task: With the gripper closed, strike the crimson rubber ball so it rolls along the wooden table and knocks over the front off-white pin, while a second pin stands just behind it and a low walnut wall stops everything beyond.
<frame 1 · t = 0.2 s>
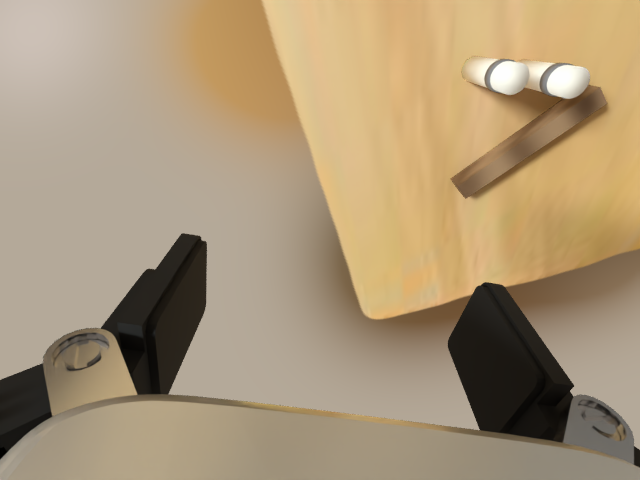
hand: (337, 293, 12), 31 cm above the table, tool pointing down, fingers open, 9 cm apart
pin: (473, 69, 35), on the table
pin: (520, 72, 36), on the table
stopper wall: (516, 141, 39), on the table
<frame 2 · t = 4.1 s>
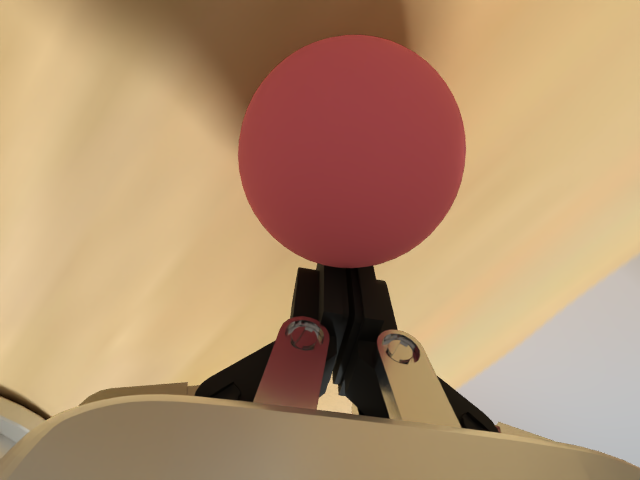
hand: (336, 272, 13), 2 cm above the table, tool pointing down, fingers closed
ball: (348, 160, 10), on the table
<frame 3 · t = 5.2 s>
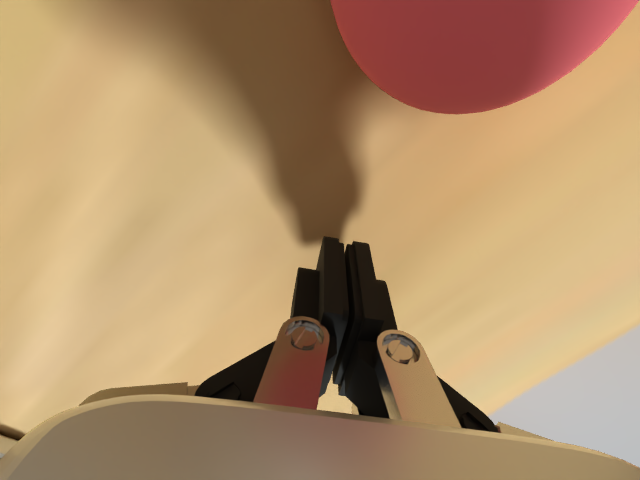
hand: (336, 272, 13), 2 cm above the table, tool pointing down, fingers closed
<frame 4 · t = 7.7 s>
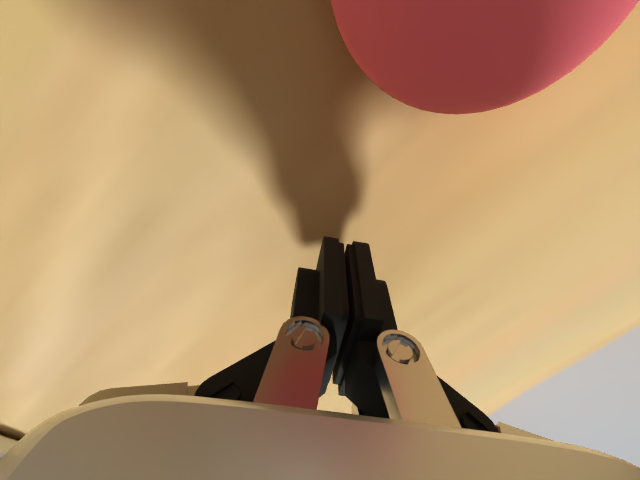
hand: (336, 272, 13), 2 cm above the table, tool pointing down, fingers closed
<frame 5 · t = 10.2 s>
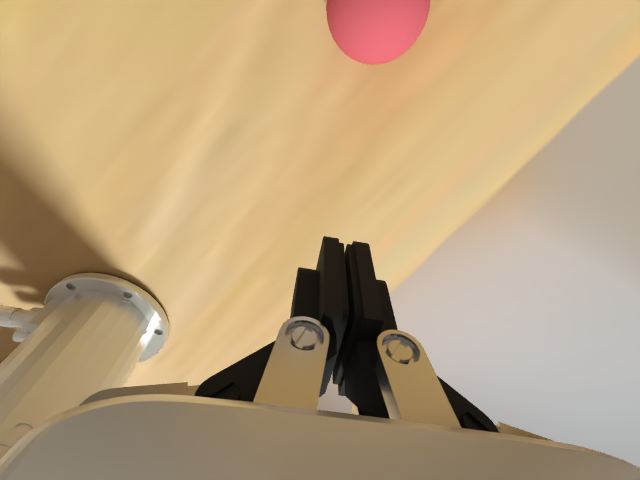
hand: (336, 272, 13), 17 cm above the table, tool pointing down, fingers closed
ball: (377, 7, 20), on the table
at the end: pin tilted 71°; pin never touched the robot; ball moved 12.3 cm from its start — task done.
